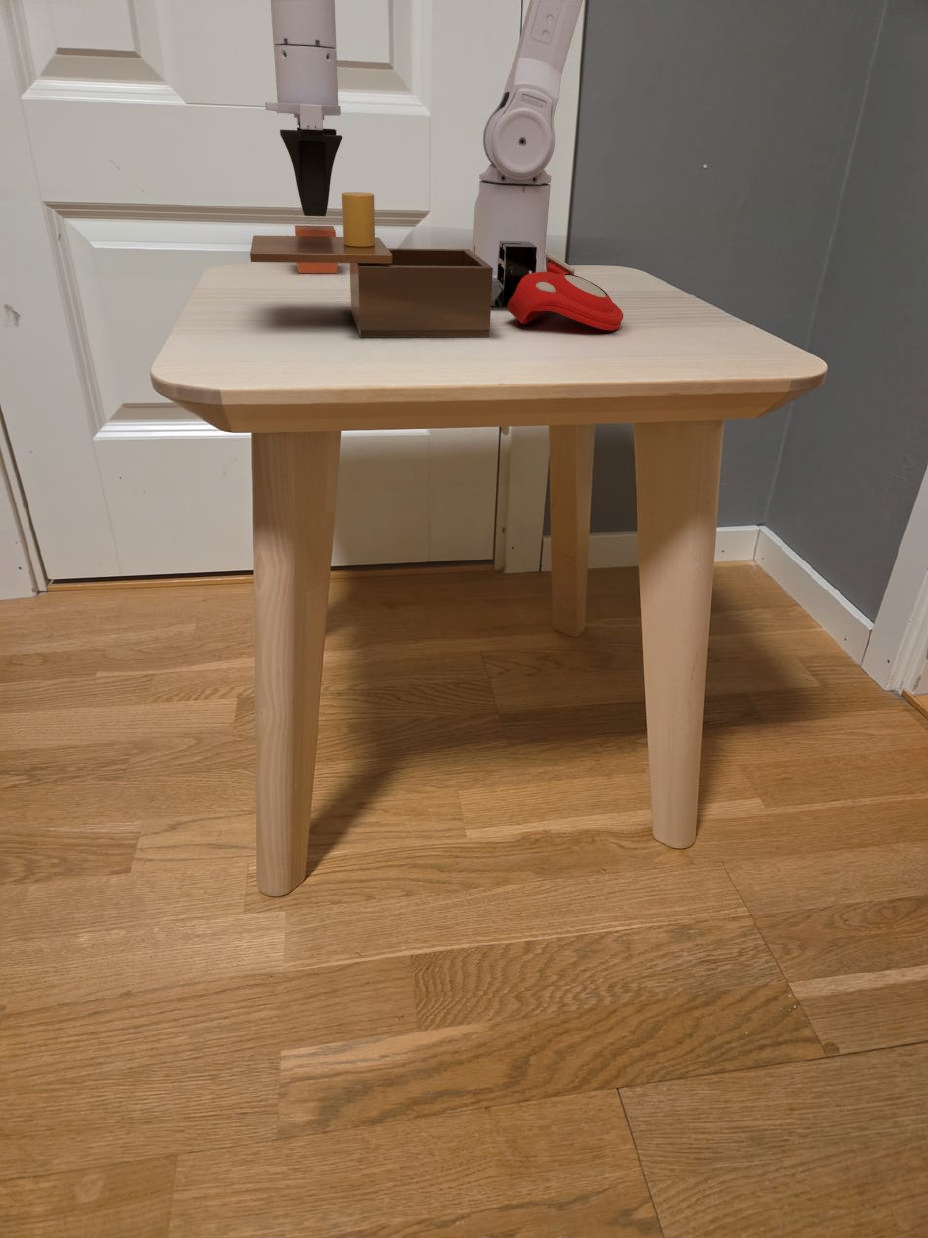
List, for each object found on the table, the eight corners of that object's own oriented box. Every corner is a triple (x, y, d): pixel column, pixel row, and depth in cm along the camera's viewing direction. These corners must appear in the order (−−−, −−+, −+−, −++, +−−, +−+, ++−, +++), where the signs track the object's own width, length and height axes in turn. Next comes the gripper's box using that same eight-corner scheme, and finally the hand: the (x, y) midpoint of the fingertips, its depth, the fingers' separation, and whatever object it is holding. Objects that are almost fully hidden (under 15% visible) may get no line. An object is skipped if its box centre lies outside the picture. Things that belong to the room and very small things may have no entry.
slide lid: (253, 243, 65) (248, 185, 63) (379, 245, 67) (378, 188, 64) (250, 261, 57) (244, 196, 55) (392, 263, 59) (392, 200, 57)
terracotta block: (297, 266, 87) (294, 225, 85) (335, 266, 88) (333, 225, 85) (298, 273, 84) (295, 230, 81) (337, 273, 84) (335, 230, 82)
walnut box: (351, 311, 69) (348, 247, 66) (467, 311, 71) (469, 249, 68) (360, 337, 62) (358, 266, 59) (489, 336, 63) (493, 267, 61)
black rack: (469, 284, 83) (471, 233, 80) (539, 285, 84) (543, 235, 81) (487, 309, 72) (490, 251, 70) (568, 310, 73) (574, 253, 71)
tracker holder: (652, 314, 67) (564, 295, 61) (626, 363, 69) (539, 349, 63) (570, 249, 73) (483, 226, 67) (549, 296, 76) (463, 278, 70)
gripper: (262, 48, 81) (273, 202, 88) (259, 40, 69) (272, 218, 76) (334, 53, 82) (339, 204, 89) (344, 45, 70) (349, 220, 77)
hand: (313, 211), depth 83 cm, fingers open, 7 cm apart
